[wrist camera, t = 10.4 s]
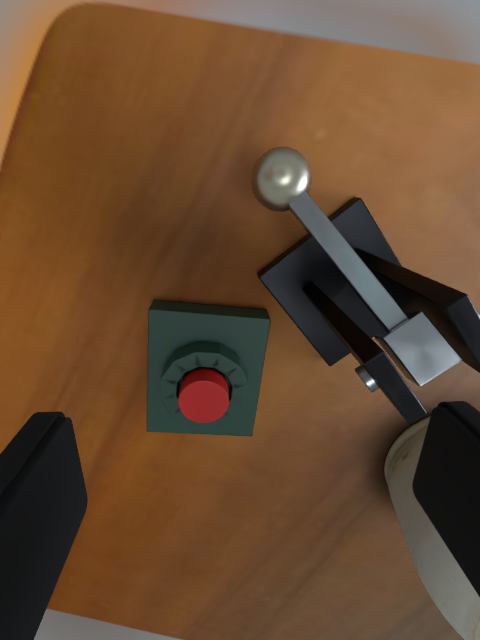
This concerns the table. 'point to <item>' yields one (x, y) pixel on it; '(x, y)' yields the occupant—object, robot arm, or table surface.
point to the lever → (353, 268)
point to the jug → (429, 538)
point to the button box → (204, 362)
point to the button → (203, 395)
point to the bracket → (354, 317)
